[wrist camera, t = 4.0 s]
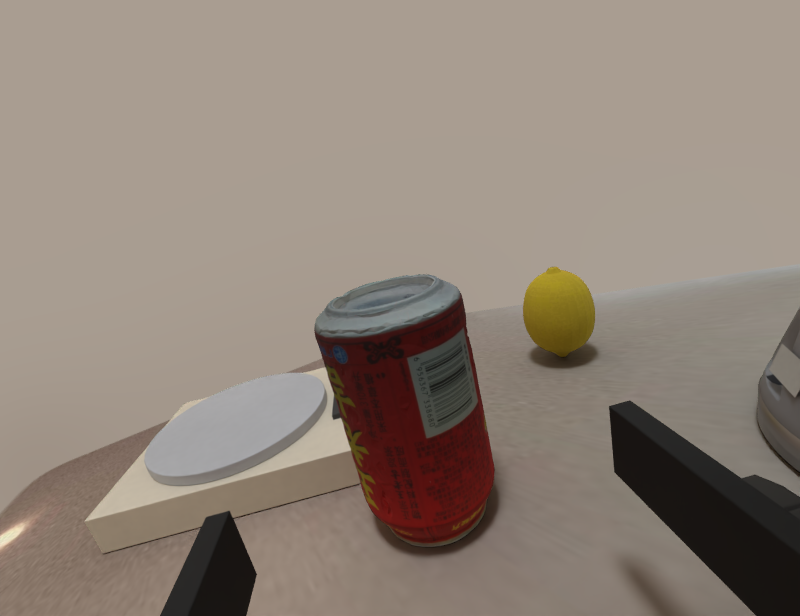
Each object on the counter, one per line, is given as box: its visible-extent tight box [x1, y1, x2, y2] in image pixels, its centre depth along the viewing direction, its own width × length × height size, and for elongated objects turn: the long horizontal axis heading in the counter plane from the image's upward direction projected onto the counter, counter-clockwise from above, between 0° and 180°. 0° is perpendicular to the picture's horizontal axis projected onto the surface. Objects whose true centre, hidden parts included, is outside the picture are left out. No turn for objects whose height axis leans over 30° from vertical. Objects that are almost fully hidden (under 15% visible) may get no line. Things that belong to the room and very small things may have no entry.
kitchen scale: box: [85, 367, 360, 553], centre depth 30 cm, size 16×14×3 cm
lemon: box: [523, 267, 595, 357], centre depth 33 cm, size 6×6×8 cm
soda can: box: [315, 274, 495, 547], centre depth 20 cm, size 7×7×12 cm
